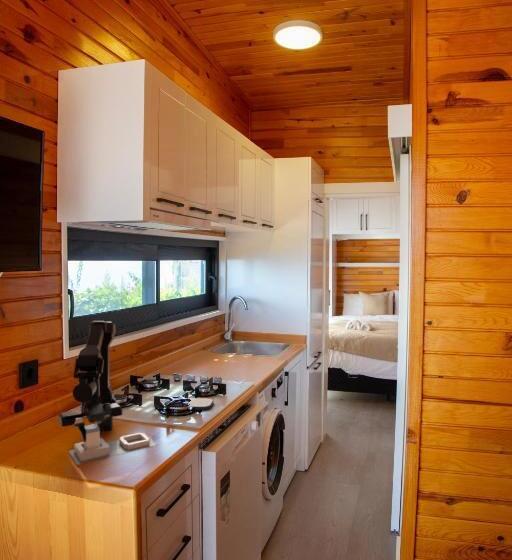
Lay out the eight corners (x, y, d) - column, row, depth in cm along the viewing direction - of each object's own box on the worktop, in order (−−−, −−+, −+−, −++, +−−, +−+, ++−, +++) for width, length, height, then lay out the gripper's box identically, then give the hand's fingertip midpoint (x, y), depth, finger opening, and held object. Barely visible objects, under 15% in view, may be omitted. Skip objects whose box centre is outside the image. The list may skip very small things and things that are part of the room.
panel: (68, 453, 159) (67, 443, 159) (145, 436, 173) (145, 426, 173) (77, 467, 149) (77, 456, 149) (158, 447, 163) (158, 437, 163)
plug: (84, 447, 158) (83, 426, 157) (96, 444, 160) (96, 423, 159) (87, 451, 154) (86, 430, 154) (100, 448, 156) (99, 427, 156)
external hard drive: (153, 410, 202) (153, 405, 202) (160, 401, 213) (160, 397, 213) (209, 411, 200) (209, 407, 200) (214, 403, 211) (214, 398, 211)
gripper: (65, 404, 144) (66, 456, 145) (127, 393, 154) (128, 442, 155) (57, 395, 153) (58, 443, 154) (116, 385, 164) (117, 431, 165)
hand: (91, 440), depth 157 cm, fingers closed on plug, 4 cm apart
